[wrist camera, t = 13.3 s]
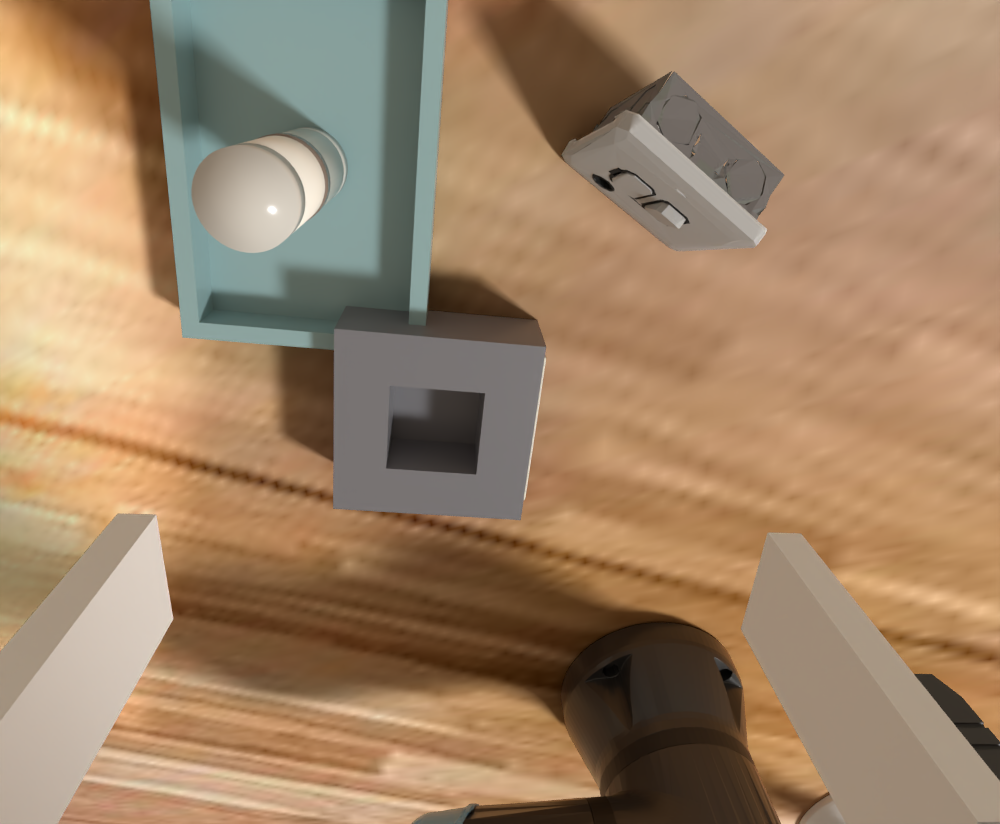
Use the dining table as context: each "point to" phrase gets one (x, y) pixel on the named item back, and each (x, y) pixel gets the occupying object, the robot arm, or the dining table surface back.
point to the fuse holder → (435, 412)
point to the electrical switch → (678, 169)
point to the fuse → (267, 187)
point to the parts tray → (290, 105)
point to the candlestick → (823, 813)
